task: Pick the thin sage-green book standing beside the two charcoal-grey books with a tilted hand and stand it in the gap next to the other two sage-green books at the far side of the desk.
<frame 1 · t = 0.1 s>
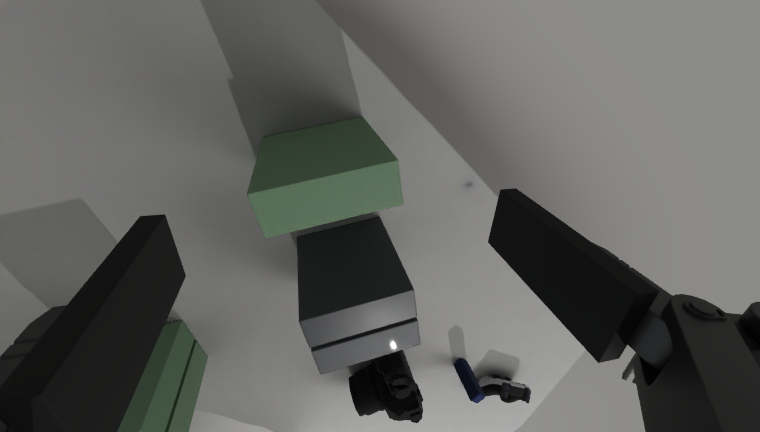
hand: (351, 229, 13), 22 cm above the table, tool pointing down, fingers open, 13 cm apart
sage book: (317, 143, 33), on the table
film camera: (378, 362, 53), on the table
green book 2: (146, 340, 40), on the table
grey book 1: (342, 238, 39), on the table
blue rectangular bar: (459, 361, 58), on the table
grey book 2: (348, 263, 41), on the table
green book 1: (162, 360, 42), on the table
gaming controller: (495, 379, 64), on the table
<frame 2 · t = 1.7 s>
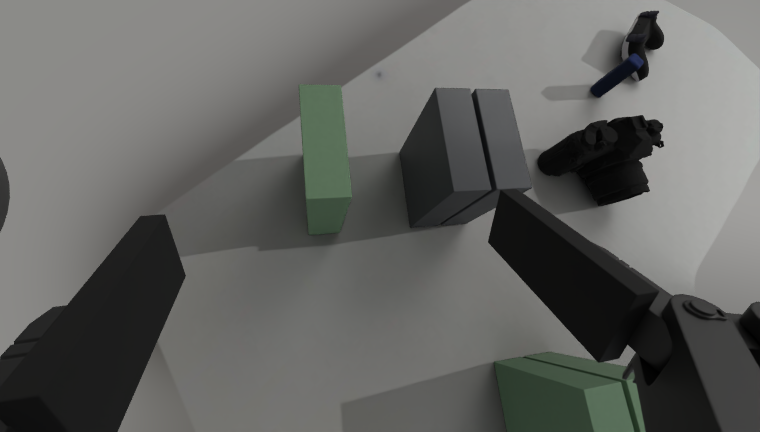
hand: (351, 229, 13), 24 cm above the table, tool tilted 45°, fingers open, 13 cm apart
sage book: (321, 192, 38), on the table
film camera: (585, 175, 47), on the table
green book 2: (516, 407, 36), on the table
grey book 1: (417, 188, 41), on the table
blue rectangular bar: (595, 91, 51), on the table
grey book 2: (447, 186, 42), on the table
green book 1: (547, 400, 37), on the table
gaming controller: (629, 54, 55), on the table
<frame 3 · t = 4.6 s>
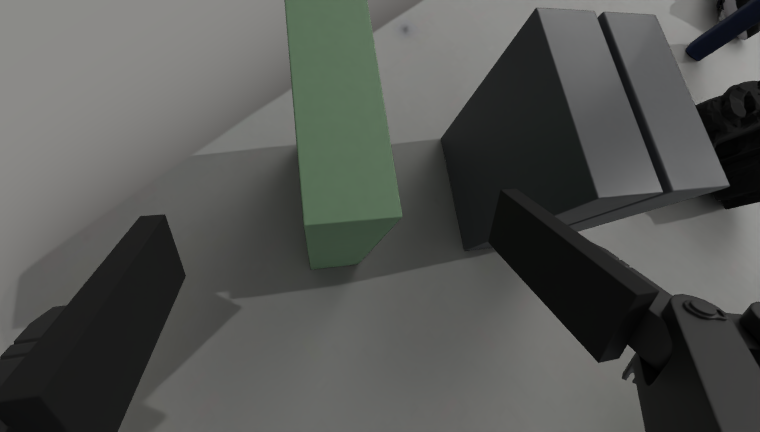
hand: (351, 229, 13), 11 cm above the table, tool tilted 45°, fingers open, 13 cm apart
sage book: (328, 201, 25), on the table
film camera: (695, 166, 33), on the table
grey book 1: (470, 190, 27), on the table
blue rectangular bar: (692, 53, 38), on the table
grey book 2: (512, 187, 28), on the table
gaming controller: (726, 7, 42), on the table
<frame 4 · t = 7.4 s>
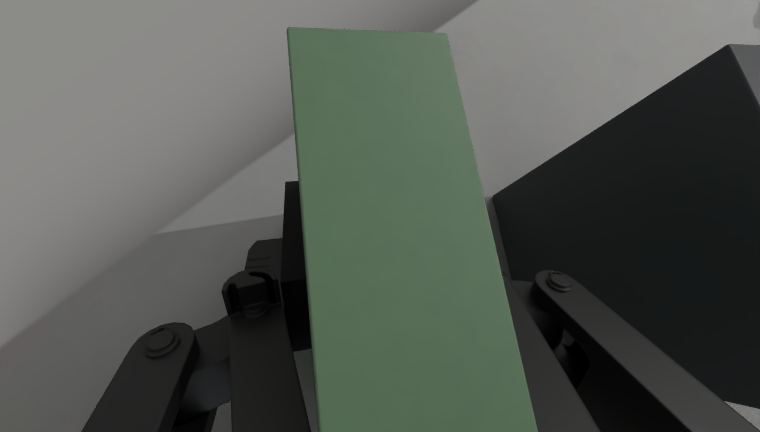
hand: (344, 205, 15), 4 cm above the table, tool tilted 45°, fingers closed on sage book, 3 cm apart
sage book: (346, 294, 18), on the table, touching gripper
grey book 1: (534, 268, 20), on the table
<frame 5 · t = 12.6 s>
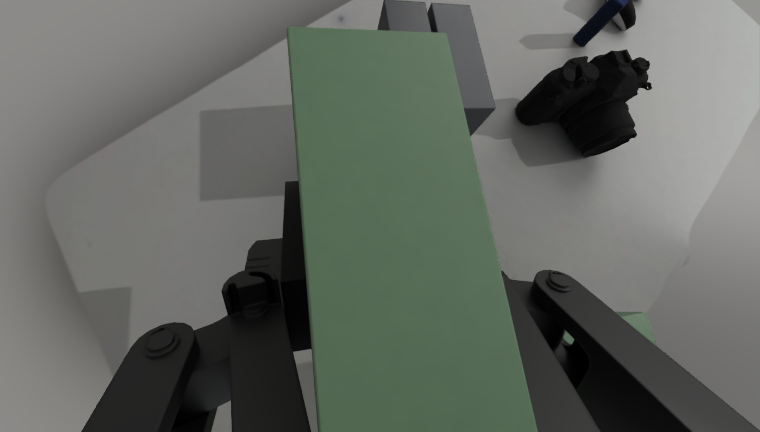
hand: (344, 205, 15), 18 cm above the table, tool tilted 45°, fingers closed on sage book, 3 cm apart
sage book: (346, 293, 18), point 14 cm above the table, touching gripper
film camera: (567, 126, 43), on the table
grey book 1: (382, 136, 37), on the table
blue rectangular bar: (579, 41, 48), on the table
grey book 2: (415, 135, 38), on the table
green book 1: (526, 363, 33), on the table
gaming controller: (615, 4, 52), on the table
when the fingers open (4 cm above the table, at t = 17.9 s): sage book stays where it is, on the table.
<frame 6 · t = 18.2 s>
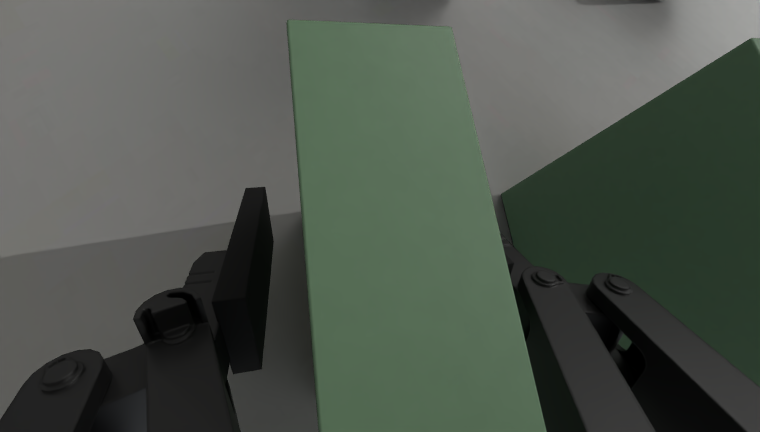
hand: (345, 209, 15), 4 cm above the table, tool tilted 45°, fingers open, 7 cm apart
sage book: (346, 294, 18), on the table
green book 2: (543, 266, 20), on the table
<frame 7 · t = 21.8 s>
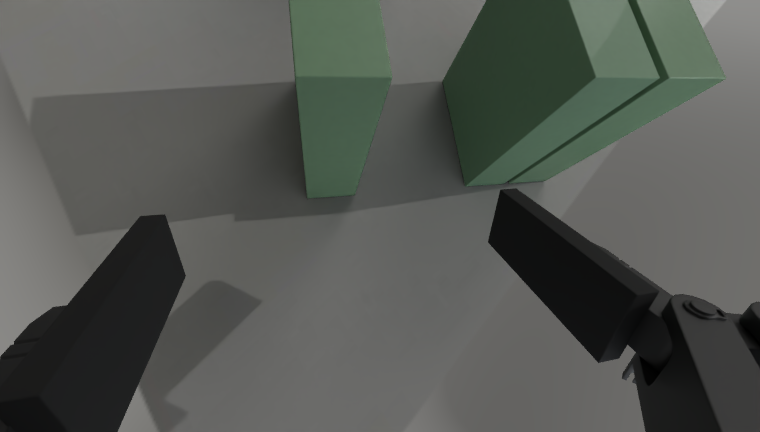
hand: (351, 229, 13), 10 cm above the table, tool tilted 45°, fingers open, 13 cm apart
sage book: (325, 136, 25), on the table
green book 2: (472, 130, 28), on the table
green book 1: (513, 129, 29), on the table
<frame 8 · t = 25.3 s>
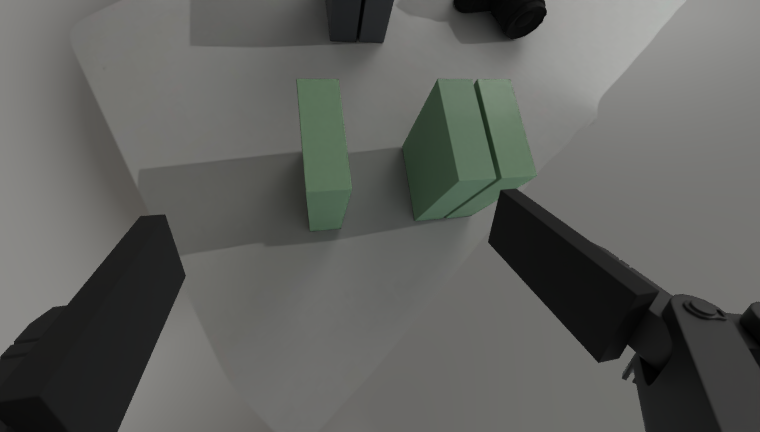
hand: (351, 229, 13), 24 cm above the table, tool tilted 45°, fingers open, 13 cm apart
sage book: (321, 188, 38), on the table
film camera: (498, 17, 52), on the table
green book 2: (421, 181, 41), on the table
grey book 1: (339, 12, 46), on the table
grey book 2: (367, 13, 47), on the table
green book 1: (450, 179, 42), on the table
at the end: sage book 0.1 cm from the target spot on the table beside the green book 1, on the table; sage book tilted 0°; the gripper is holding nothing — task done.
